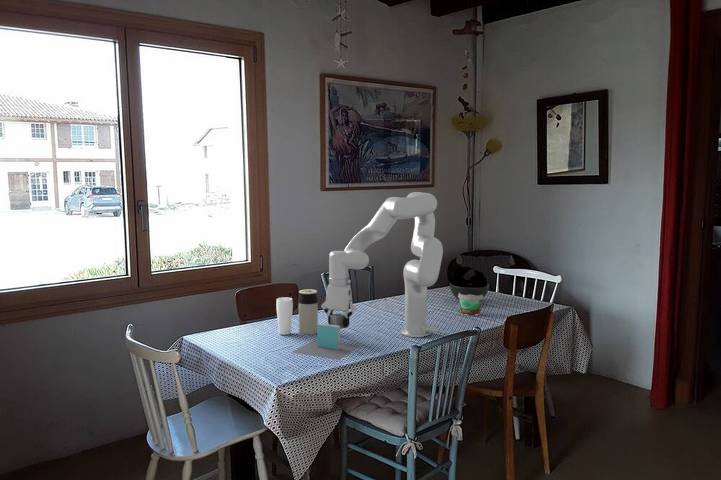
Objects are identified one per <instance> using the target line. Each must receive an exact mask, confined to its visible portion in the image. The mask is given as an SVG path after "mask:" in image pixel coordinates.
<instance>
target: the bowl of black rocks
mask: <svg viewBox="0 0 721 480" xmlns="http://www.w3.org/2000/svg"><path fill="white" fill-rule="evenodd" d="M472 269H474V268H473V267H470V266H463V267H459V268H457V269H456V270H455V271H454V275H453V278H452V280H451V281H450V282H449V288H450V291H451V293H452V295H453V296H454V298H456V300H458V301H459V302H460V300H459V298H458V294H459V292H460V294H464V295H467V294H472V295H476V296H479V295H482V294H483V298H485V297H486V295H487V294H488V292H489V288H490V284H489V283H488V282H487V278H486V276H485V274H484V273H483V272H481V271H479V270H477V269H474V270H473V272H474V273H475V274H474V275H472V276H470V277H469V279H465V278H464V277H465V274H467V273H468V271H470V270H472Z"/></svg>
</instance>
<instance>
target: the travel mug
mask: <svg viewBox="0 0 721 480" xmlns="http://www.w3.org/2000/svg"><path fill="white" fill-rule="evenodd" d="M317 292H318V290H316V289H311V288H310V289H309V288H308V289H301V290H299V291H298V293H299V295H300V296H299V297H298V333H299V334H303V335H313V334H317V324H319V323H318V319H319V318H318V313H319V311H318V305H319V304H318V303H319V301H318V296H317Z"/></svg>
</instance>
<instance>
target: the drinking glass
mask: <svg viewBox="0 0 721 480" xmlns="http://www.w3.org/2000/svg"><path fill="white" fill-rule="evenodd" d="M293 308H294V302H293V298H292V297H286V296H285V297H283V296H282V297H278V298H276V316H277V317H276V319H277V328H278V329H277V331H278V334H279V335H281V336H288V335H290V334H292V320H293Z"/></svg>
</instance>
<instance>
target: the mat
mask: <svg viewBox="0 0 721 480" xmlns="http://www.w3.org/2000/svg"><path fill="white" fill-rule="evenodd" d="M359 347H360V345H356V344H348V343H341V342H340V349H338V350H336V349H329V348H323V347H317V339H313V340H312V341H311V340H310V341H309V342H308V343H305V344H304V345H302V346H300V347H299V348H297V349H295V350H293V351H292V353H295V354H300V355H307V356H312V357H313V356H314V357H319V358H326V359H332V360H339V361H340V360H341V359H343V358H344V357H345V356H347V355H349V354H350V353H351V352H354V350H356V349H358V348H359Z"/></svg>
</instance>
